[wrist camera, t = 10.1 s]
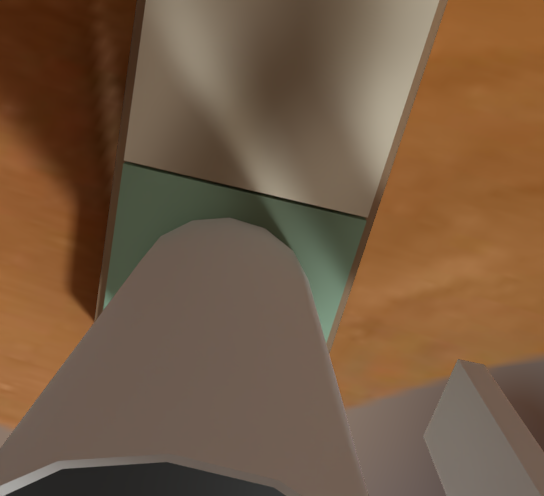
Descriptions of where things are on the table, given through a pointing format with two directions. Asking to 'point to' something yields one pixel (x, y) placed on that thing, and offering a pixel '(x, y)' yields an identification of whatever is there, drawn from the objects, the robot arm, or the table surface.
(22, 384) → the table surface
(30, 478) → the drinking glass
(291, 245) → the cream and green board
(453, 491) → the robot arm
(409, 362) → the table surface
